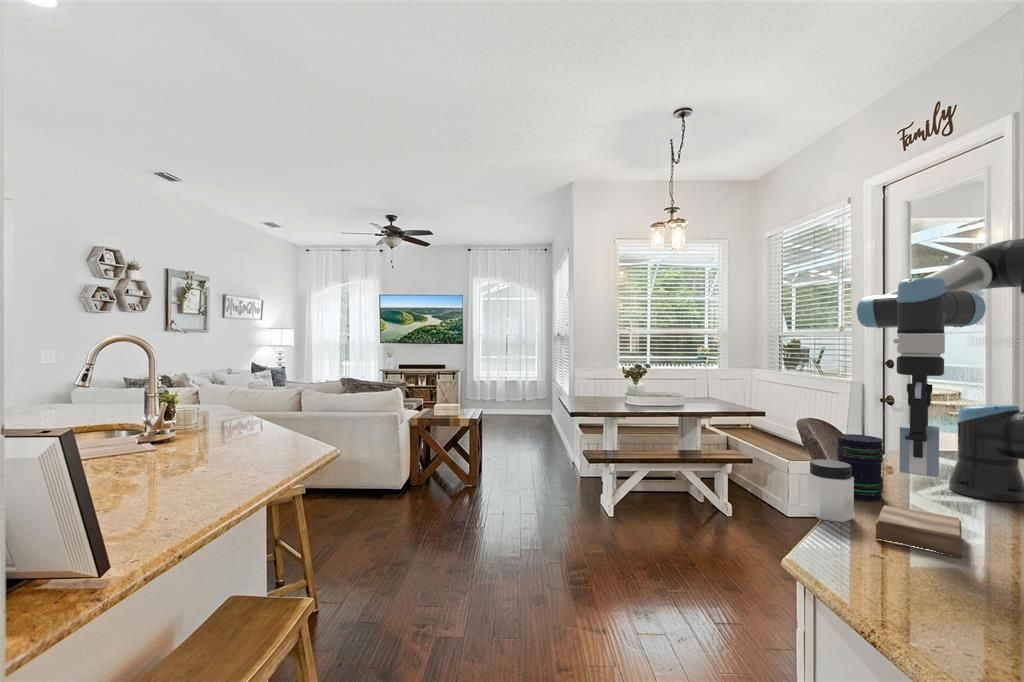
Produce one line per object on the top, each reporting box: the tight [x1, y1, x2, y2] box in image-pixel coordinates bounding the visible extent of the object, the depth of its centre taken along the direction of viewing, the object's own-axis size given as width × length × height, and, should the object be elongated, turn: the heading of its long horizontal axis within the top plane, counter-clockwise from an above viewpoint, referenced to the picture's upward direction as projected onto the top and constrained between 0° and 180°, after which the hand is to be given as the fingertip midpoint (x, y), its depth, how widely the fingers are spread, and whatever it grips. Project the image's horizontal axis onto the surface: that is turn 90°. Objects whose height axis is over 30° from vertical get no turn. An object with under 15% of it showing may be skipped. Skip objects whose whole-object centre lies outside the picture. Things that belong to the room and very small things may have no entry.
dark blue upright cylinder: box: [836, 433, 884, 503], centre depth 132 cm, size 10×10×15 cm
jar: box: [807, 458, 855, 524], centre depth 118 cm, size 9×8×12 cm
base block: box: [875, 504, 963, 558], centre depth 104 cm, size 13×13×4 cm
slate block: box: [899, 423, 940, 478], centre depth 104 cm, size 6×6×9 cm
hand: (918, 470), depth 104 cm, fingers closed on slate block, 6 cm apart
